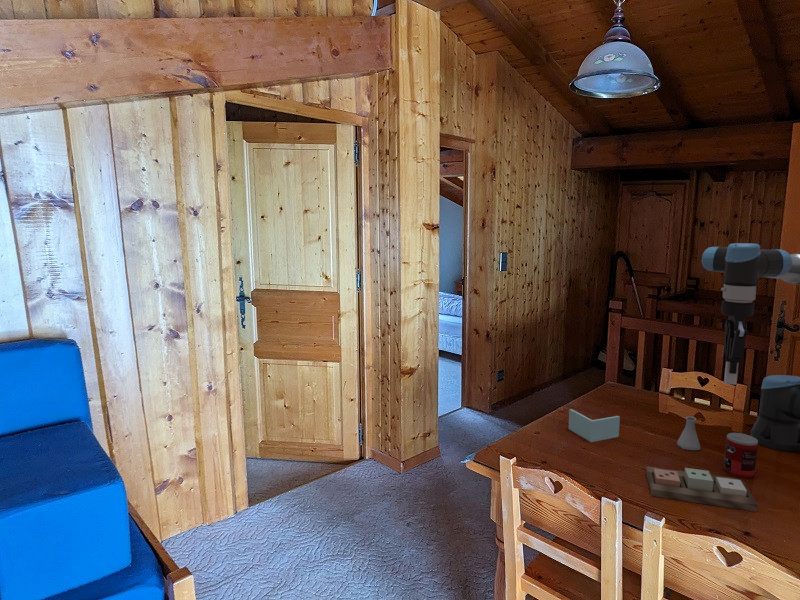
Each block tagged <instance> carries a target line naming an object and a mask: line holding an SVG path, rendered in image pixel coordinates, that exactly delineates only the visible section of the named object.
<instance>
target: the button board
mask: <svg viewBox="0 0 800 600" xmlns="http://www.w3.org/2000/svg"><path fill="white" fill-rule="evenodd" d="M654 468H655V469H663V470H670V471H677V474H678V476H679V479H680V487H674V486H667V485H660V484H654V480H653V474H654ZM684 472H685V470H677V469H670V468H662V467H655V466H647V465H646V467H645V474H646V478H647V482H648V486H649V487H648V488H649V491H650V495H651V497H658V498H663V499H670V500H671V499H672V500H675V501H676V500H677V501H683V502H690V503H697V504H703V505H710V506H716V507H723V508H730V509H735V510H741V511H742V510H743V511H750V512H755V513H757V512H758V511H757V510H758V503H757V502H756V500H755V498H754V497H753V495H752V493H751V491H750V490H749V488H748V486H747V485H746V483H745V482H744V480H743V478H737V477H727V476H722V475H721V476H720V475H715V474H713V475H712V474H710V475H711V477H712V479H713V491H712V492H710V491H703V490H696V489H689V488H688V487H687V485H686V482H685V479H684ZM716 477H721V478H728V479H736V480H741V482H742V484H743V485H744V487H745V489H746V490H747V494H746V497H743V496H736V495H729V494H723V493H719V492H718V490H717V488H716V486H715V483H716Z"/></svg>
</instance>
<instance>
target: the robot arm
mask: <svg viewBox="0 0 800 600" xmlns="http://www.w3.org/2000/svg"><path fill="white" fill-rule="evenodd" d="M701 265H702V268H704V270H707V271H709V272H713V273H724V280H723V287H721V288H720V291H722V298H723V300H721V307H720V308H721V309H720V312H721V314H723V315H725V316H727V317H728V318H727V319H726V320H725V321H724V352H723V353H724V354H723V355H724V356H725V358H724V359H725V361H724V362H725V367H724V379H723V383H724V384H725V385H737V383H738V374H739V363H742V361H743V354H744V351H745V344H746V339H747V335H748V333H749V332H748V329H746V328H747V322H746V321H745V320H746V318H747V317H751V316H754V314H755V305H756V304H755V303H754V301H755V300H756V296H757V287H758V286H757V281H758V278H767V279H779V280H783V282H785V283H788V284H790V285H791V284H792V285H797V286H800V253H792V254H790V253H789V252H788V251H786V250H783V249H777V248H776V249H775V248H771V249H761V245H760V244H758V243H750V242H749V243H747V242H746V243H745V242H744V243H743V242H742V243H741V242H739V243H737V242H736V243H734V242H733V243H730V244H728V245H727V247H726V246H724V247H723V246H711V247H710V246H709V247H707V248H706V249H705V250H704V252H703V253H702V255H701ZM760 389H761V390H760V391H761V392H760V400H759V401H760V402H759V413H758V417H757V419H756V420H755V422H754V424H753V426H752V427H751V430H750V436H752V437H754V438H756V439H757V440H758V445H761V446H762V447H766V448H769V449H773V450H777V451H783V452H784V451H785V452H799V451H800V376H796V375H787V374H772V375H768V376H765V377H763V380H762V384H761V388H760Z"/></svg>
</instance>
